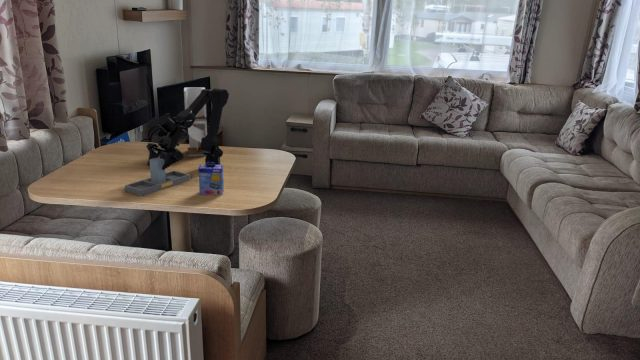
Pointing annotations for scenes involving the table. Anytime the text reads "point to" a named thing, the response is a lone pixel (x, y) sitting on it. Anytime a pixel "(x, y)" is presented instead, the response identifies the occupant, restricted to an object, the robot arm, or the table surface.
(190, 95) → the display case
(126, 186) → the rack
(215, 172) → the ink cartridge box
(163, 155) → the speaker
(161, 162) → the panel block
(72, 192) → the table surface
